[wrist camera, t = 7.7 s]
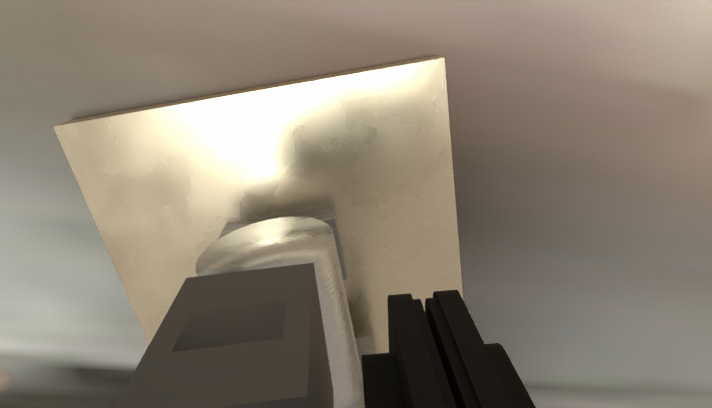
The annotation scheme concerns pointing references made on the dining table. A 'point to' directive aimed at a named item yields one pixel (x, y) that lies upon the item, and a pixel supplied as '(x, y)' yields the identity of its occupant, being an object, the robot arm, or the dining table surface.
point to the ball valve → (283, 196)
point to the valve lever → (238, 345)
